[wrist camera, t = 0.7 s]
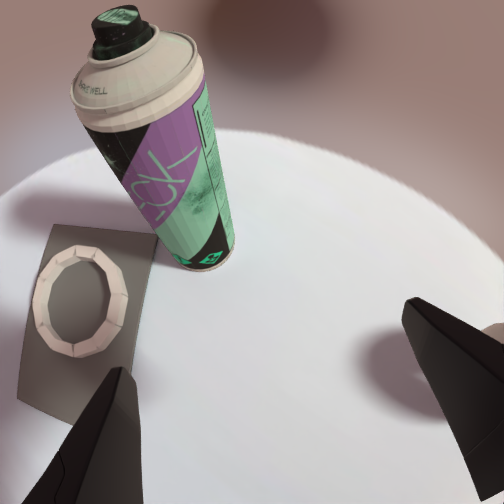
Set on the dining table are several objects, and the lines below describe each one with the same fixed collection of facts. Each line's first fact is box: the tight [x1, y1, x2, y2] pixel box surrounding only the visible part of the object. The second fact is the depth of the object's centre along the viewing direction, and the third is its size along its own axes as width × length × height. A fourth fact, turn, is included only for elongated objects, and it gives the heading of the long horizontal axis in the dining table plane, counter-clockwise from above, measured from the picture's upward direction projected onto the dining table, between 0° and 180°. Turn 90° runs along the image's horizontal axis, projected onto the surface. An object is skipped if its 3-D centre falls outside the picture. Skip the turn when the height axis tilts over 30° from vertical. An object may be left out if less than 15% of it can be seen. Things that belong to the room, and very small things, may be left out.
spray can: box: [70, 5, 235, 272], centre depth 17 cm, size 6×6×20 cm
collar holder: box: [17, 224, 158, 425], centre depth 23 cm, size 18×12×2 cm, turn 173°
